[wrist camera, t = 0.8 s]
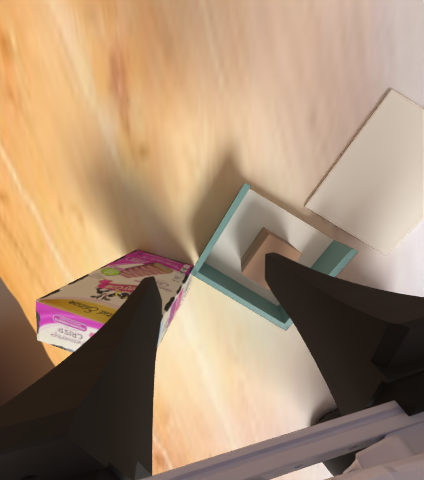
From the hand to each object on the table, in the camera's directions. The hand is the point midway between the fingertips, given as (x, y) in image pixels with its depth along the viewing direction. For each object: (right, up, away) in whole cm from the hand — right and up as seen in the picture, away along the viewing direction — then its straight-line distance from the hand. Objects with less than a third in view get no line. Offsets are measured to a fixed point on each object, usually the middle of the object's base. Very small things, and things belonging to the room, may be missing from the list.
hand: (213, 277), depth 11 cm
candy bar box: (-9, -3, +20) cm, 22 cm away
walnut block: (+8, +1, +15) cm, 17 cm away
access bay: (+8, +1, +17) cm, 19 cm away
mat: (+23, +10, +12) cm, 28 cm away
